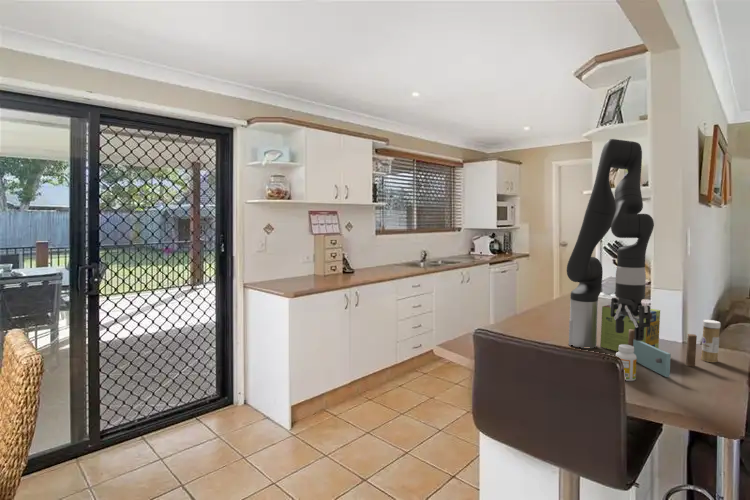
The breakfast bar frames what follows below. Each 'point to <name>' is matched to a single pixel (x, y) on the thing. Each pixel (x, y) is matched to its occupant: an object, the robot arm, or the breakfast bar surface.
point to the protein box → (627, 330)
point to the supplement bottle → (628, 361)
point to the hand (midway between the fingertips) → (628, 336)
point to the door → (652, 357)
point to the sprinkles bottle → (710, 340)
